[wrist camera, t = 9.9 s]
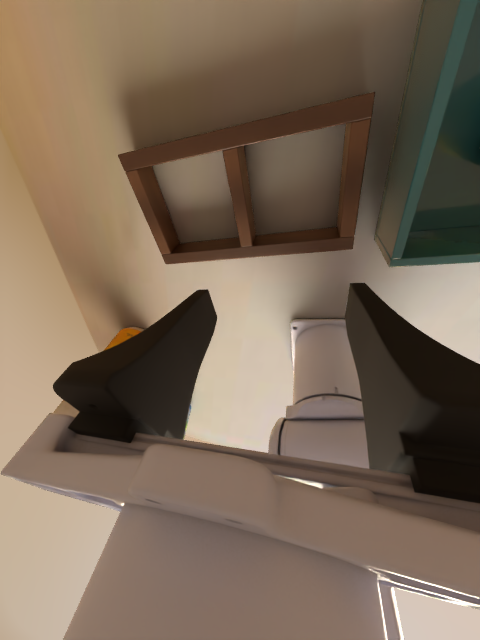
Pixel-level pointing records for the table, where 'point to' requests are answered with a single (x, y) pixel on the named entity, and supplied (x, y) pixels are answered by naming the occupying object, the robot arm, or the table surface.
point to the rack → (232, 143)
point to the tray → (436, 145)
